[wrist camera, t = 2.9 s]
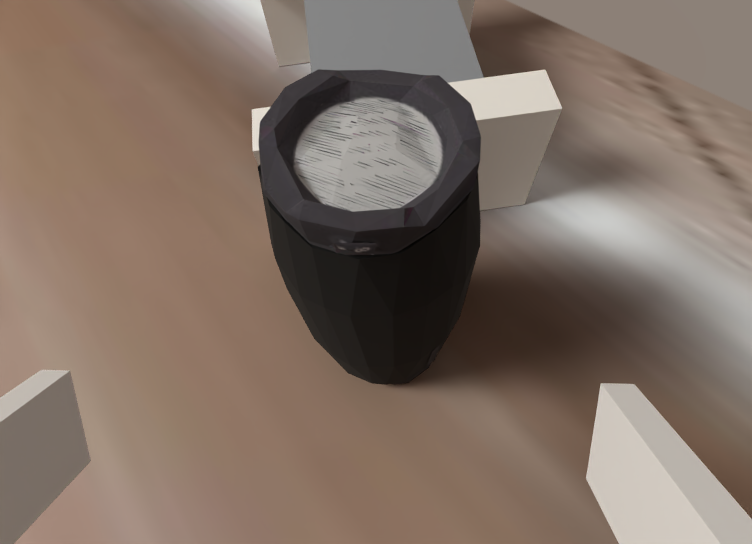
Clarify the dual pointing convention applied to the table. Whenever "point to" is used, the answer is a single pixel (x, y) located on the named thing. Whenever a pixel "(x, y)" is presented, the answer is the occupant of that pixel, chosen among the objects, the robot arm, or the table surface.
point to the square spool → (425, 57)
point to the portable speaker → (373, 213)
